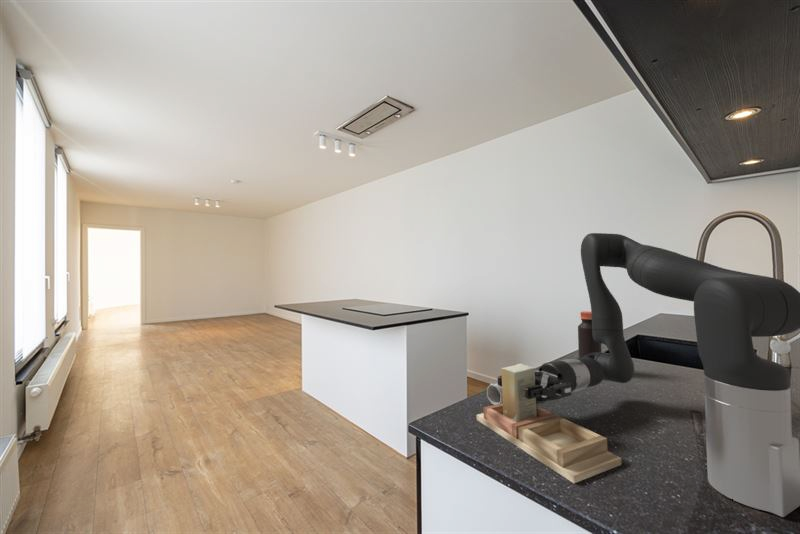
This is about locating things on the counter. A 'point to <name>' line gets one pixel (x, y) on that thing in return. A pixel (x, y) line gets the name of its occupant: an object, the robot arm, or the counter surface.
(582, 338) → the vinegar
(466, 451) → the counter surface
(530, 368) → the skincare box
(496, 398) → the tube
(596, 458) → the two-compartment wooden tray
